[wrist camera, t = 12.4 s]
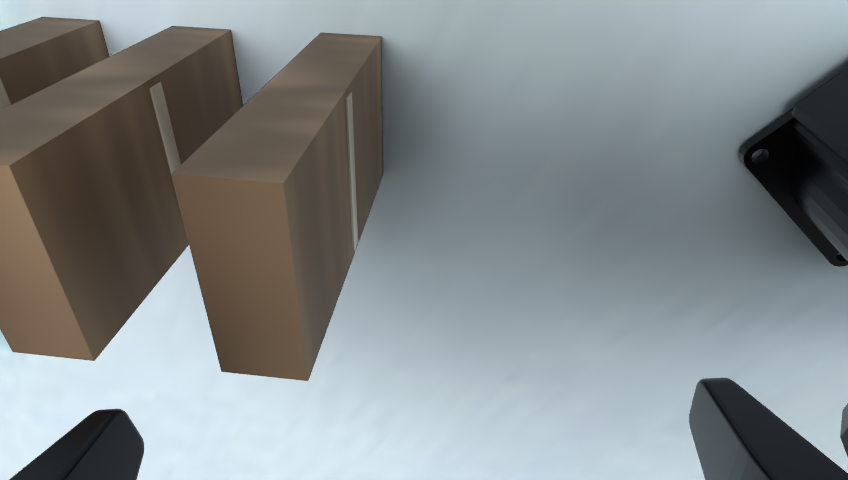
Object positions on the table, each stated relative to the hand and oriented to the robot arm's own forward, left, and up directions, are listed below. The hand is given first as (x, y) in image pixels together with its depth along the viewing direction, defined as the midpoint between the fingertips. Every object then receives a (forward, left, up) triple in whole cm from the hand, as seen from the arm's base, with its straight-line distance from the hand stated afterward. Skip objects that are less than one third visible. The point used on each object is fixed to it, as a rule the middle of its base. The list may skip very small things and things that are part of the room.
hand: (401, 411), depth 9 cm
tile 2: (+6, +6, -13) cm, 15 cm away
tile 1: (+3, +2, -13) cm, 13 cm away
